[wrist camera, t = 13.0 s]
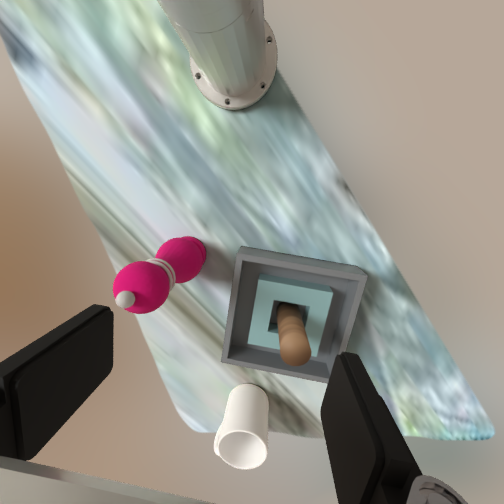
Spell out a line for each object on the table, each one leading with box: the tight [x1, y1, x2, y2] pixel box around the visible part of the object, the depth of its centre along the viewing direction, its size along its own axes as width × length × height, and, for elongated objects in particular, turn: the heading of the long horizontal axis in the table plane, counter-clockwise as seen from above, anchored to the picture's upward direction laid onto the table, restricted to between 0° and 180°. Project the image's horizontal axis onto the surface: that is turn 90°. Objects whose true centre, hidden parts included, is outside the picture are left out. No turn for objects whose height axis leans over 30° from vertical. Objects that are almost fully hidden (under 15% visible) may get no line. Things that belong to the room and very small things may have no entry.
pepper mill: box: [113, 236, 206, 314], centre depth 33 cm, size 7×7×20 cm
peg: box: [276, 301, 311, 366], centre depth 37 cm, size 4×4×12 cm
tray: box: [221, 246, 368, 384], centre depth 42 cm, size 20×20×5 cm
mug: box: [214, 384, 269, 469], centre depth 45 cm, size 12×8×10 cm
